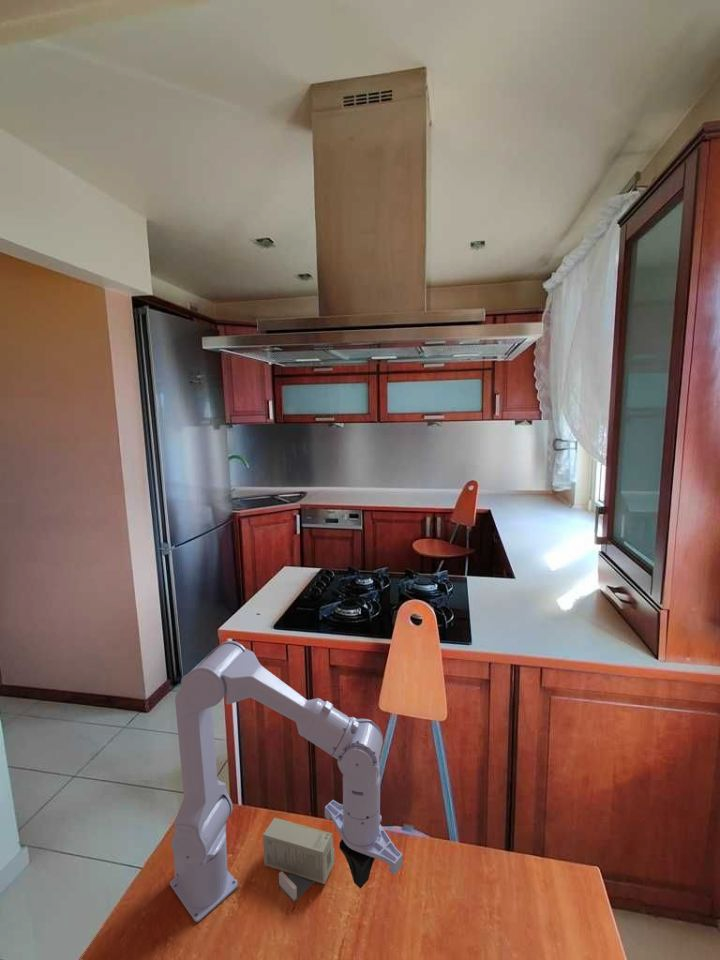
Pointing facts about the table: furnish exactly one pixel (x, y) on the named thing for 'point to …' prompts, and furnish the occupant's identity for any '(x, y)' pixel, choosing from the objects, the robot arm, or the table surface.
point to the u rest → (294, 884)
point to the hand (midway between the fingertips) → (361, 881)
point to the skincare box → (299, 850)
